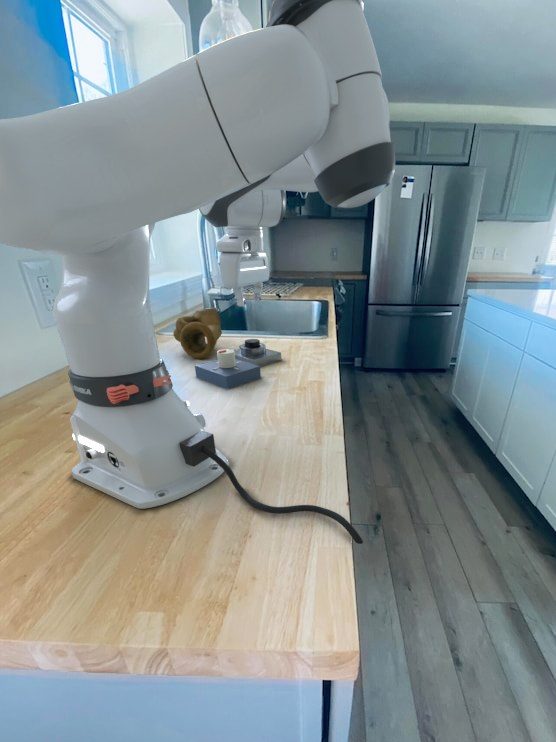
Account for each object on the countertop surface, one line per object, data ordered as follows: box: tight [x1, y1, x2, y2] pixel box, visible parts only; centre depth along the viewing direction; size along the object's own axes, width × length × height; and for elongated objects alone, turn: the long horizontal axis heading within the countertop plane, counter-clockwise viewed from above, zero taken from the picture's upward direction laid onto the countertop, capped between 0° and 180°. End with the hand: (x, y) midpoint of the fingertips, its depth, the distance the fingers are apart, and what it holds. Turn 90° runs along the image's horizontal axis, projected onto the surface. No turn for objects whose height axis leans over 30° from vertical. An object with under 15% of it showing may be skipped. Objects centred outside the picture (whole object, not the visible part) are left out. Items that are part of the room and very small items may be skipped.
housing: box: [233, 342, 282, 367], centre depth 101 cm, size 12×10×4 cm
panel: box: [194, 359, 262, 390], centre depth 88 cm, size 12×10×3 cm
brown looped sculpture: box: [172, 307, 223, 360], centre depth 109 cm, size 18×13×22 cm
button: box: [244, 338, 261, 348], centre depth 100 cm, size 4×4×2 cm
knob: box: [216, 348, 236, 368], centre depth 86 cm, size 4×4×4 cm
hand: (250, 303), depth 95 cm, fingers open, 8 cm apart
